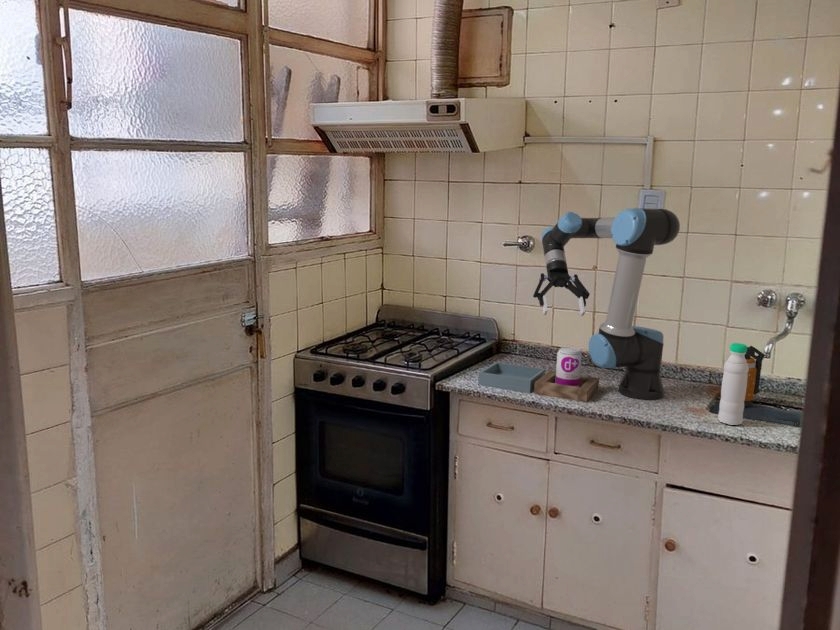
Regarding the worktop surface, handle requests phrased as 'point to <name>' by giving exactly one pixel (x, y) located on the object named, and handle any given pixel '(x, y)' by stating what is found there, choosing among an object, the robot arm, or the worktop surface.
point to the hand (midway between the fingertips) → (564, 313)
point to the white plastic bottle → (734, 386)
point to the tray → (510, 377)
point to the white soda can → (568, 366)
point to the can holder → (566, 388)
